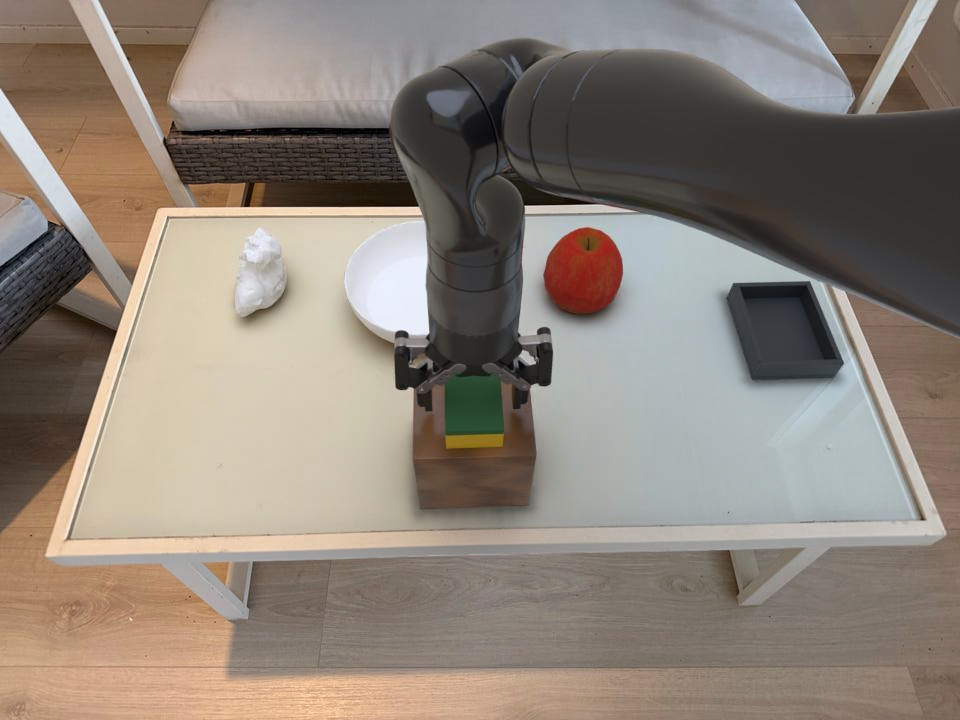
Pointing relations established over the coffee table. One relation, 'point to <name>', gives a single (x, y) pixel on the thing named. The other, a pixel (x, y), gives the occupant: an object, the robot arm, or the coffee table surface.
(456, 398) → the sponge
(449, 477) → the wooden block
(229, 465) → the coffee table surface
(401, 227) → the bowl
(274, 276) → the bust
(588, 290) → the apple
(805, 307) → the tray
